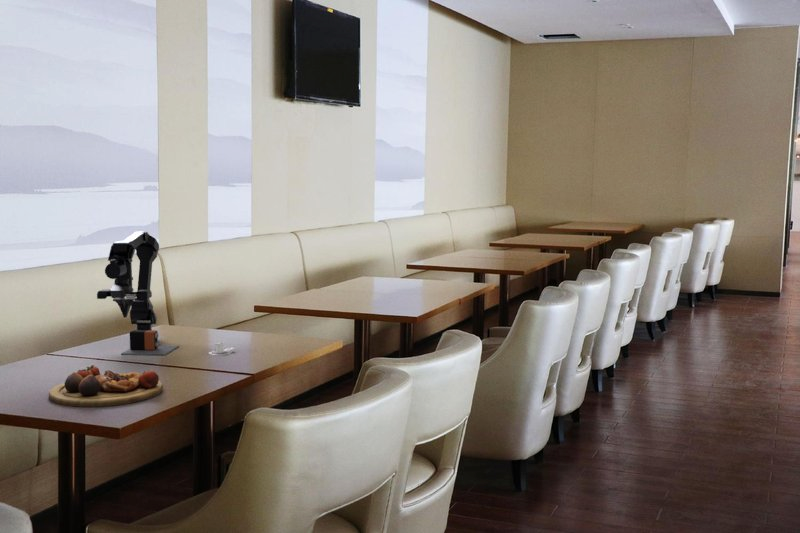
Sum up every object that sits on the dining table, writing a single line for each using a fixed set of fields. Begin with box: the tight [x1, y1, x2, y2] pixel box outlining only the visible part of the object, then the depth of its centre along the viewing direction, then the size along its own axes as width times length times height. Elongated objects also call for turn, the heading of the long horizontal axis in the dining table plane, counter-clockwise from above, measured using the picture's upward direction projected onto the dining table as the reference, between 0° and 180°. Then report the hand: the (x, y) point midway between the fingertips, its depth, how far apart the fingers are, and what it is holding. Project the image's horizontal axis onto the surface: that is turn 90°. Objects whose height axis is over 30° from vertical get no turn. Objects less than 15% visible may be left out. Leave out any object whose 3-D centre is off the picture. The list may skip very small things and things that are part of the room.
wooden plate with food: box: [48, 364, 164, 408], centre depth 264 cm, size 32×32×8 cm
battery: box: [129, 329, 160, 350], centre depth 327 cm, size 4×7×10 cm
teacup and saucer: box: [208, 341, 235, 356], centre depth 324 cm, size 9×8×4 cm
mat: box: [120, 344, 180, 357], centre depth 328 cm, size 16×16×1 cm
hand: (125, 317), depth 330 cm, fingers closed
